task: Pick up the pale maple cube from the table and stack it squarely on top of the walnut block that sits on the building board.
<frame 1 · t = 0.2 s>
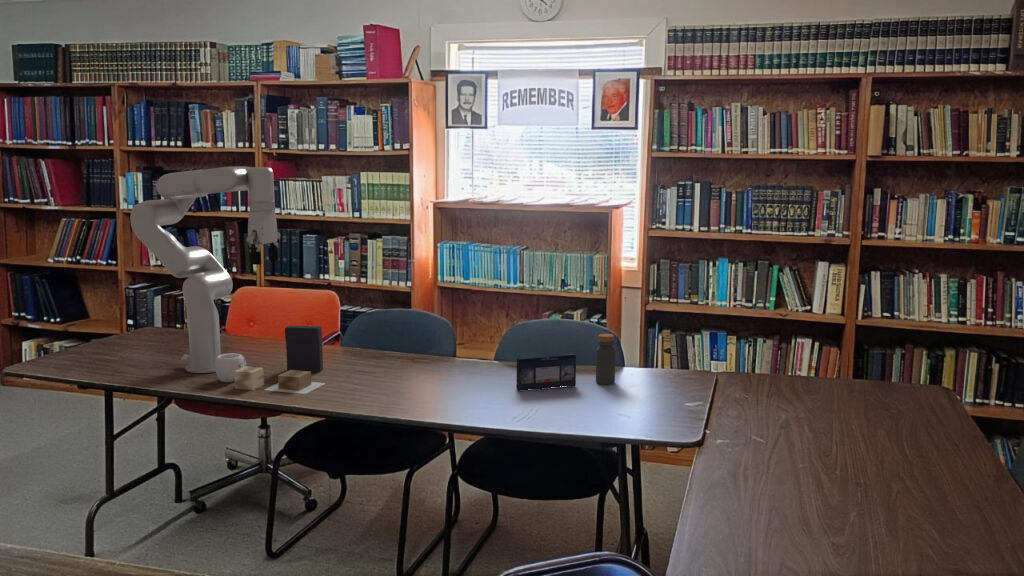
hand: (265, 262, 267), 36 cm above the table, tool pointing down, fingers open, 9 cm apart
walnut block: (295, 386, 257), point 1 cm above the table, touching building board
bottle: (605, 383, 265), on the table
building board: (295, 388, 258), on the table
vhs cassette tape: (546, 388, 259), on the table
mug: (234, 379, 268), on the table
maple cube: (249, 388, 257), on the table
black upright slab: (305, 372, 277), on the table
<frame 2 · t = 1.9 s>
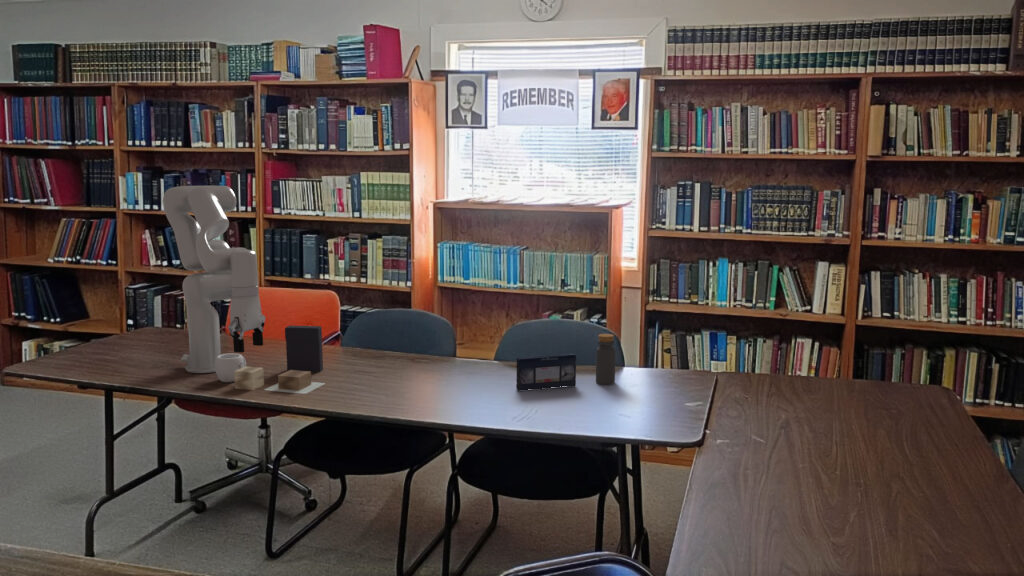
hand: (248, 348, 255), 12 cm above the table, tool pointing down, fingers open, 9 cm apart
nothing on the table moved.
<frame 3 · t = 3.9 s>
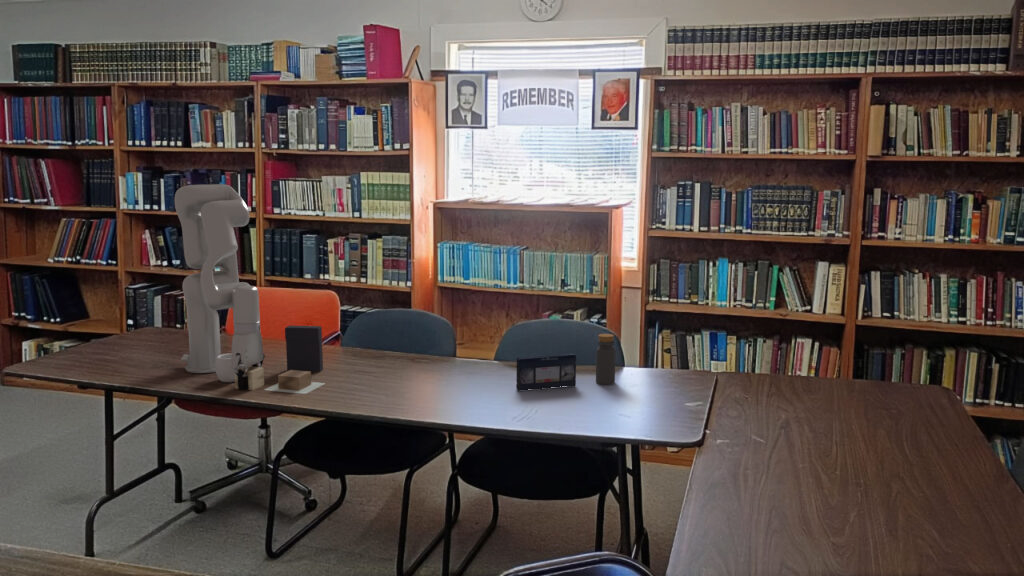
hand: (249, 385, 257), 1 cm above the table, tool pointing down, fingers closed on maple cube, 6 cm apart
maple cube: (250, 388, 257), on the table, touching gripper
everything else where it was.
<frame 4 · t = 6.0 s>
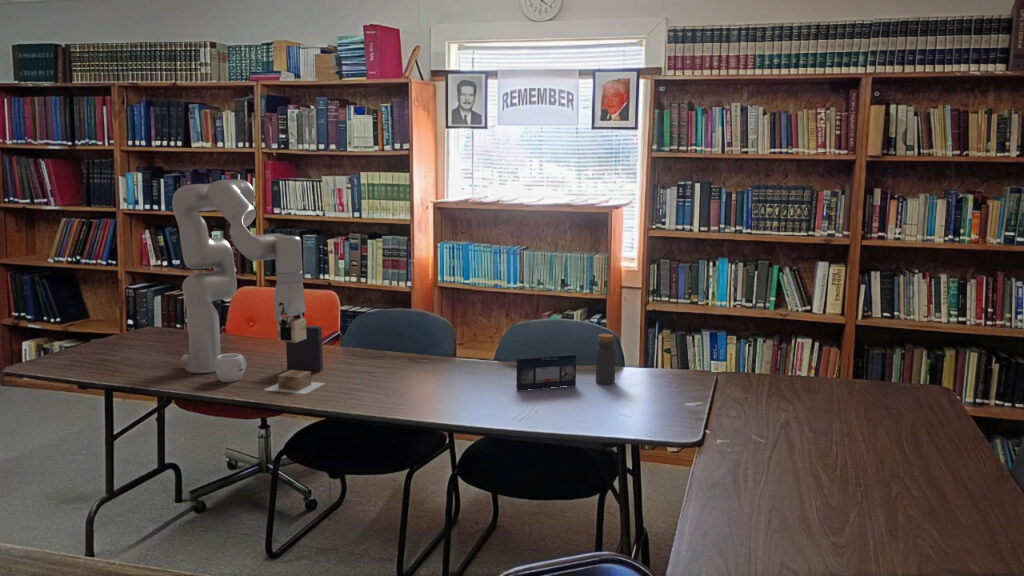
hand: (292, 337, 255), 16 cm above the table, tool pointing down, fingers closed on maple cube, 6 cm apart
maple cube: (292, 339, 255), point 15 cm above the table, touching gripper
everything else where it was.
when the fingers open (6 cm above the table, at t = 8.5 s): maple cube stays where it is, resting on walnut block.
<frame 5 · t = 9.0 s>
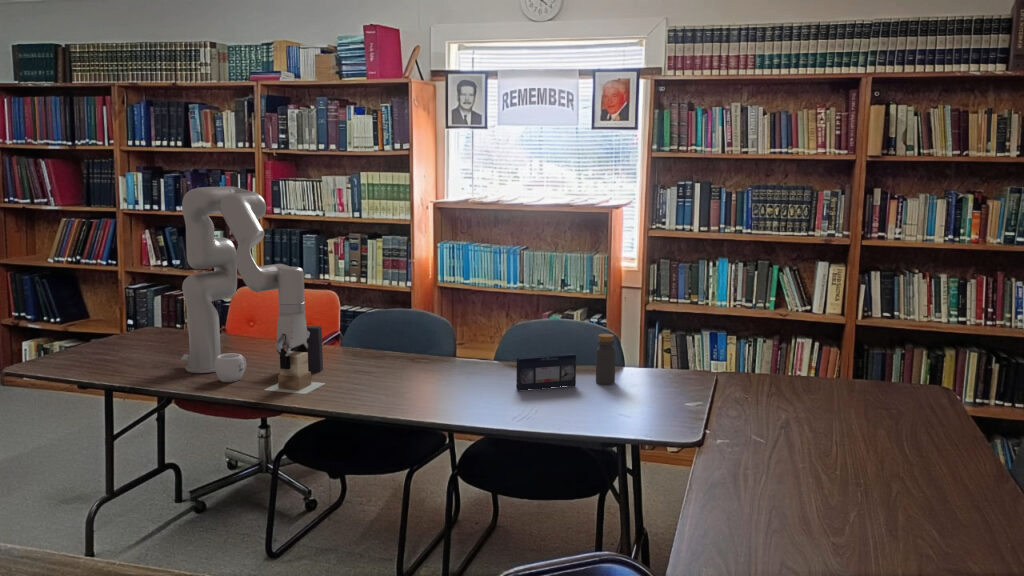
hand: (294, 364, 256), 7 cm above the table, tool pointing down, fingers open, 9 cm apart
walnut block: (295, 386, 257), point 1 cm above the table, touching building board, maple cube
maple cube: (294, 373, 257), point 5 cm above the table, touching walnut block
everything else where it was.
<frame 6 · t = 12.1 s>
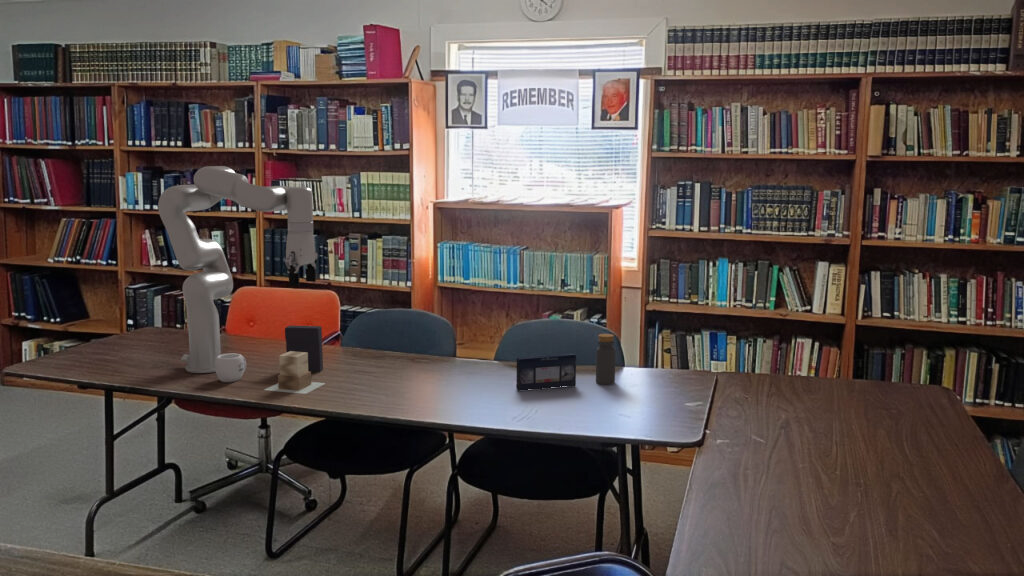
hand: (302, 283, 263), 30 cm above the table, tool pointing down, fingers open, 9 cm apart
nothing on the table moved.
at the end: maple cube 0.1 cm off-centre on the walnut block, point 4.0 cm above the walnut block's base; maple cube tilted 0°; the gripper is holding nothing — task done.
